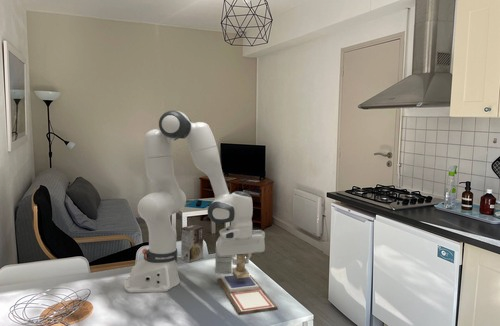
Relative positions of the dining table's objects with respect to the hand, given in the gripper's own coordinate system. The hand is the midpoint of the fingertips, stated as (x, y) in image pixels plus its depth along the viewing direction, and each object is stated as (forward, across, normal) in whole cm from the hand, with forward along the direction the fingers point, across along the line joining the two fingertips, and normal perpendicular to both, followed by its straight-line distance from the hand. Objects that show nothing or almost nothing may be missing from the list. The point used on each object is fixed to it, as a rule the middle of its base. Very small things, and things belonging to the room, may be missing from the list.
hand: (240, 263), depth 158 cm
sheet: (+10, 0, +15) cm, 18 cm away
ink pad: (+10, 0, 0) cm, 10 cm away
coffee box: (+10, +13, -36) cm, 40 cm away
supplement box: (+10, +2, -18) cm, 21 cm away
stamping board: (+10, 0, +7) cm, 12 cm away
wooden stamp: (+5, 0, 0) cm, 5 cm away
